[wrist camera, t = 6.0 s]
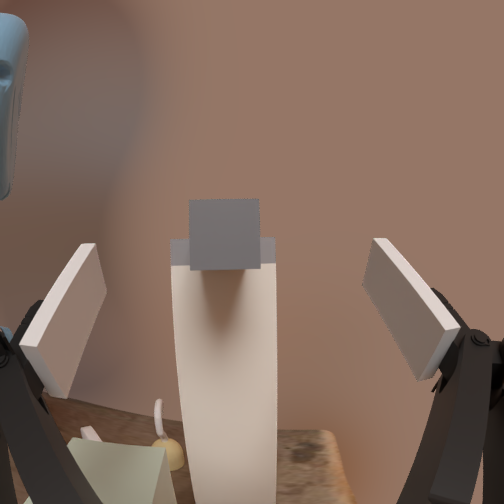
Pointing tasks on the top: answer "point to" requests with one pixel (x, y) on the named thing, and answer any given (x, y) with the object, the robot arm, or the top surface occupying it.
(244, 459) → the socket tower
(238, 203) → the bar
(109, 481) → the shelf
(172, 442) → the hook
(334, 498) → the top surface
